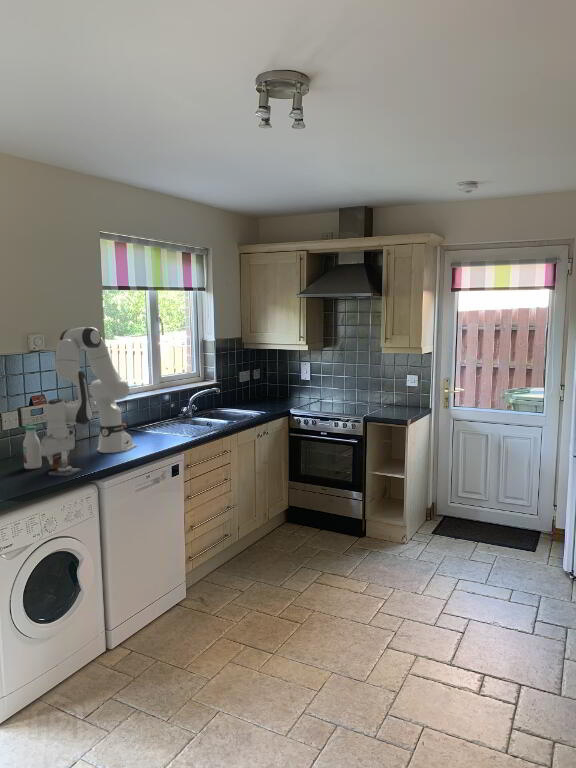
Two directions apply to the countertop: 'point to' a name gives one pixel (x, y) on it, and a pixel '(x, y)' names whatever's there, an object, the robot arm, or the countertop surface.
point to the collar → (58, 462)
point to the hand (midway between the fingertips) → (58, 461)
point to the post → (64, 467)
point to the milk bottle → (31, 449)
